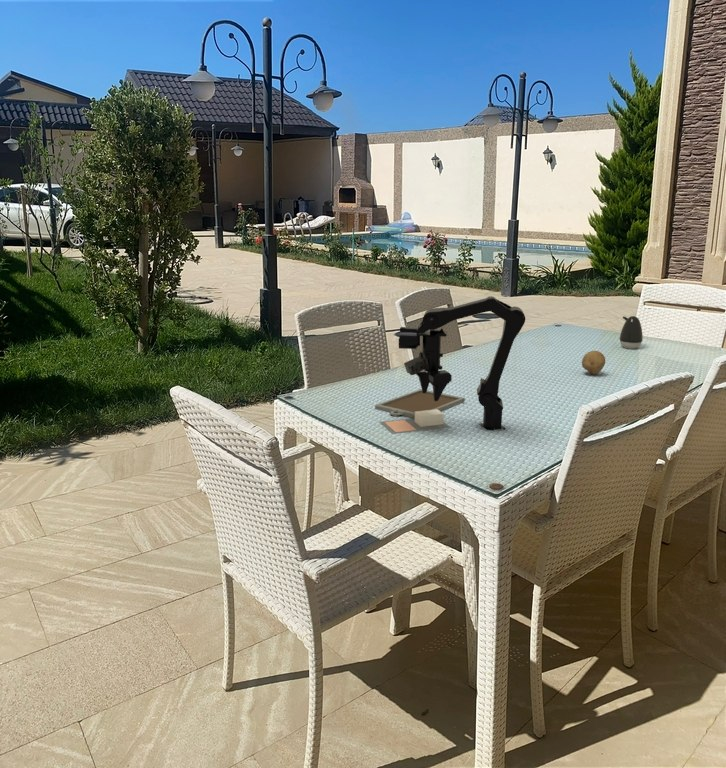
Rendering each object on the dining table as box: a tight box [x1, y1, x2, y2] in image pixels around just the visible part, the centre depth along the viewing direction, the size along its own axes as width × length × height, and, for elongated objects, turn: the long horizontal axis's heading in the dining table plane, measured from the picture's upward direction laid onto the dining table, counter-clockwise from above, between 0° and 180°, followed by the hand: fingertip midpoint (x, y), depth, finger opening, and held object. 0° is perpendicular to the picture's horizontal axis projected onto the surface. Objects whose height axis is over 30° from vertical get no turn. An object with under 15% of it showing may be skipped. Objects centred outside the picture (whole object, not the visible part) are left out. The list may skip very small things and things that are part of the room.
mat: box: [379, 418, 452, 435], centre depth 233 cm, size 12×20×1 cm, turn 109°
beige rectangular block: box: [415, 409, 445, 427], centre depth 234 cm, size 5×8×4 cm, turn 109°
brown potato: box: [581, 350, 606, 375], centre depth 295 cm, size 9×9×10 cm
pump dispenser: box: [619, 315, 644, 350], centre depth 342 cm, size 10×10×15 cm
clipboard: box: [374, 388, 466, 419], centre depth 252 cm, size 19×2×30 cm
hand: (430, 397), depth 232 cm, fingers open, 9 cm apart
